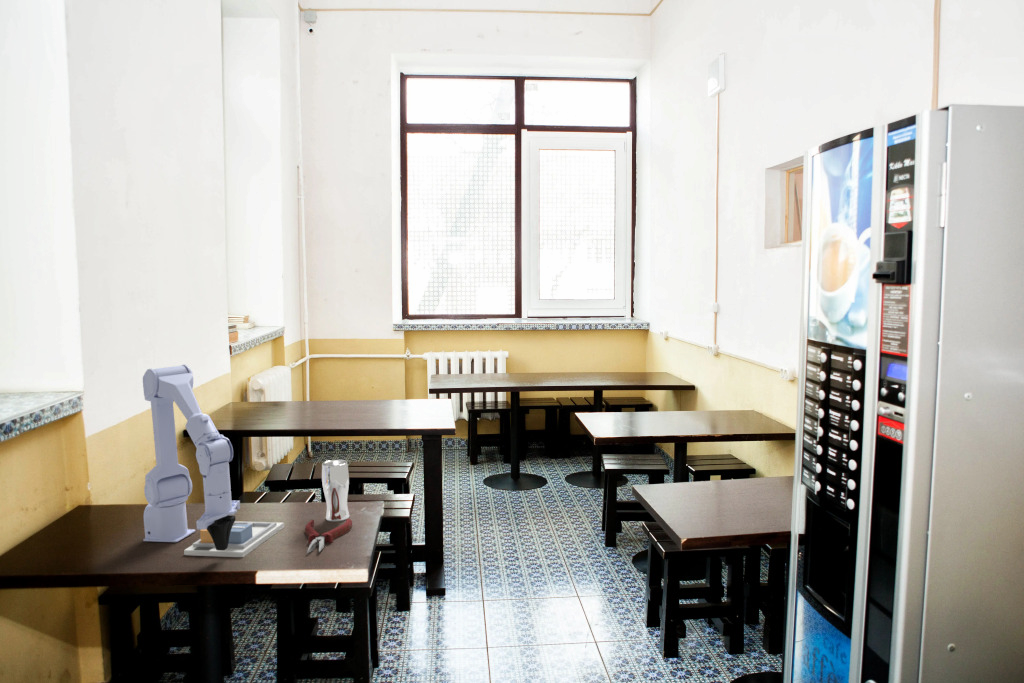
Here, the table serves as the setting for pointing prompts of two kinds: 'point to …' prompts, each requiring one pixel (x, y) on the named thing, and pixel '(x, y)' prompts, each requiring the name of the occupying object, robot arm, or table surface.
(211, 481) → the robot arm
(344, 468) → the beer glass
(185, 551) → the white flat tray
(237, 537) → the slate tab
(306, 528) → the pliers
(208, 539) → the orange white-striped block
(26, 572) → the table surface
